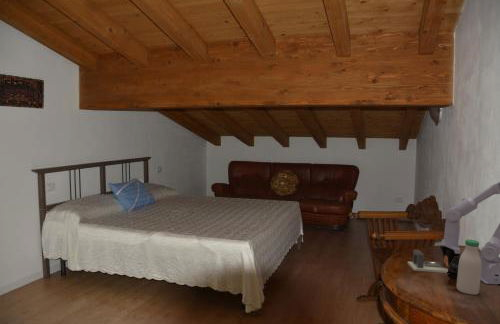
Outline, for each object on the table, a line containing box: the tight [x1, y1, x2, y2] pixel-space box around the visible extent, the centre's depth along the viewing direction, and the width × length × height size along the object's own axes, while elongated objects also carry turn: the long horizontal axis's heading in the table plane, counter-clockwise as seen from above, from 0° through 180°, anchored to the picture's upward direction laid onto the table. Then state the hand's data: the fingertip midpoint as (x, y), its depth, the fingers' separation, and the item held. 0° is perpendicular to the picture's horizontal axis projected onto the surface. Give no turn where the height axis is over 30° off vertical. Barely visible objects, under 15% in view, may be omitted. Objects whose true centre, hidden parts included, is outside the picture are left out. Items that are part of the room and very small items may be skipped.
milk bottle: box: [456, 239, 482, 296], centre depth 148 cm, size 8×8×20 cm
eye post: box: [412, 249, 425, 268], centre depth 172 cm, size 7×2×6 cm, turn 175°
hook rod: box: [424, 255, 449, 268], centre depth 172 cm, size 12×4×5 cm, turn 85°
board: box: [407, 261, 448, 274], centre depth 172 cm, size 9×18×1 cm, turn 85°
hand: (448, 264), depth 171 cm, fingers closed on hook rod, 4 cm apart
